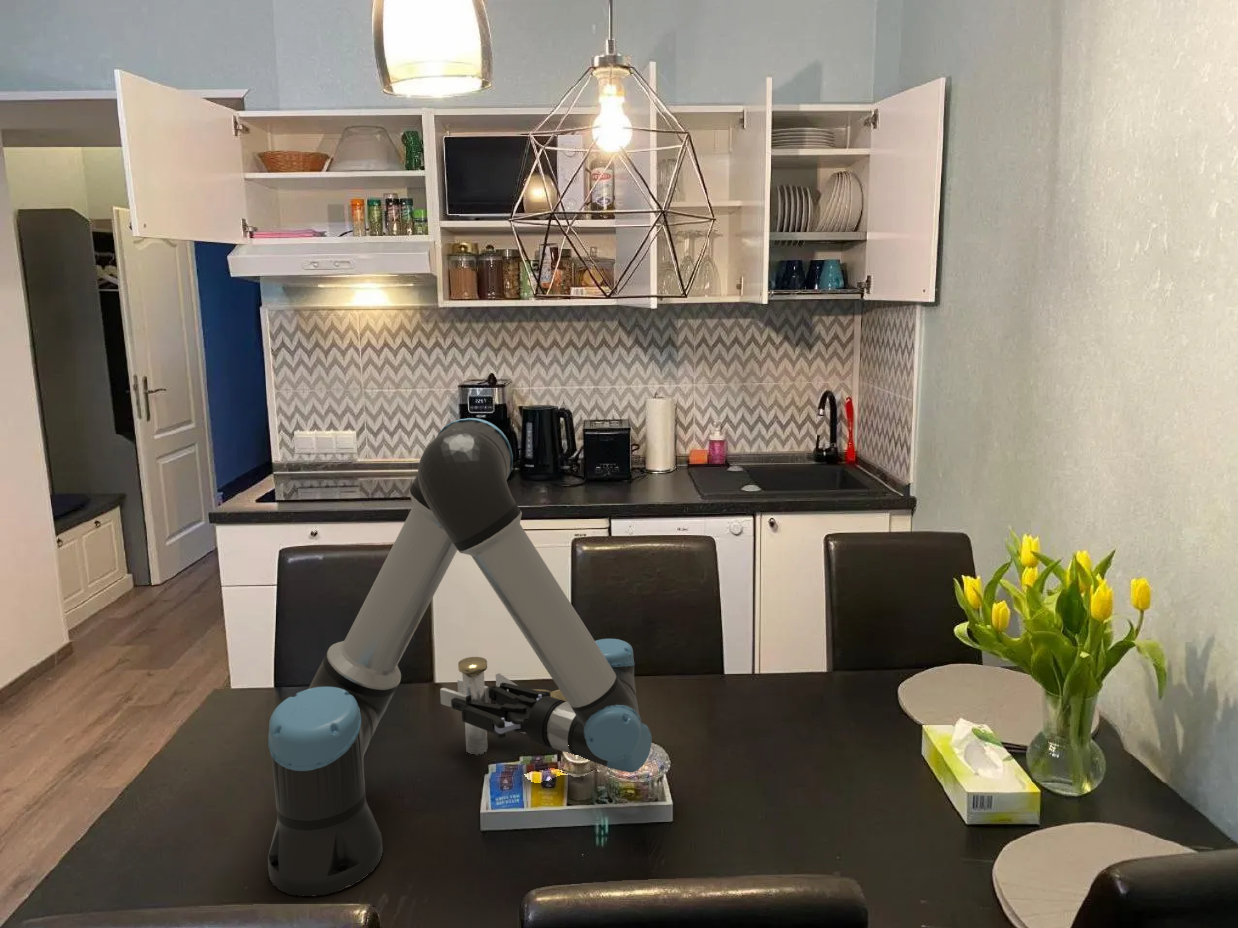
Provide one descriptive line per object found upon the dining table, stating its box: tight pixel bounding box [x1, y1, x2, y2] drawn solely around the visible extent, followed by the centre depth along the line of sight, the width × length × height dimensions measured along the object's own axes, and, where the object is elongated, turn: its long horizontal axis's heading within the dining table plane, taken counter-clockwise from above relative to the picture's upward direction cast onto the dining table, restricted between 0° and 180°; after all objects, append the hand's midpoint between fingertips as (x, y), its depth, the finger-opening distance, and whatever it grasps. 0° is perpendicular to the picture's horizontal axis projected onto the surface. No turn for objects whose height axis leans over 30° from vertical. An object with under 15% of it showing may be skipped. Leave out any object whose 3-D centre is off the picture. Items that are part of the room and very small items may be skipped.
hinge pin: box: [457, 656, 488, 756], centre depth 152 cm, size 5×5×16 cm
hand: (450, 690), depth 155 cm, fingers closed on hinge pin, 4 cm apart
